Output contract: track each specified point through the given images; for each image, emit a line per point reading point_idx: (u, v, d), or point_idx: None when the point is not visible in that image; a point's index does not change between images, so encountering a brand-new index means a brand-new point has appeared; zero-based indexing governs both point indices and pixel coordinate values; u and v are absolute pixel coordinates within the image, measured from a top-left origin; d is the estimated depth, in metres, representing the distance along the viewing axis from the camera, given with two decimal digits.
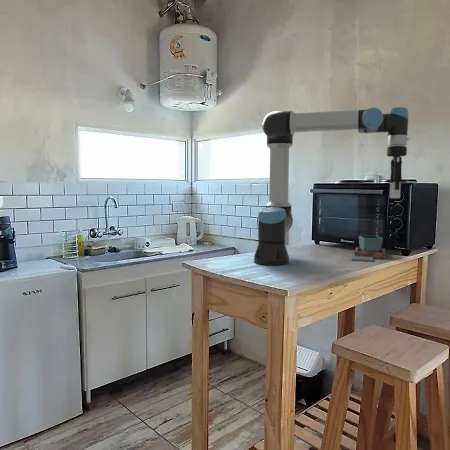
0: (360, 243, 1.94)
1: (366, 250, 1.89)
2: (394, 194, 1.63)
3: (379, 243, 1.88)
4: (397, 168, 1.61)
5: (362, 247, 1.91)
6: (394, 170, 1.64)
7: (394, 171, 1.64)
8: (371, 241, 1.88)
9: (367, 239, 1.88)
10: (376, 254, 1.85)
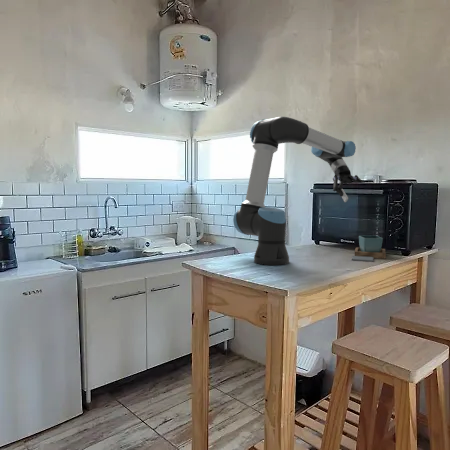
0: (360, 243, 1.94)
1: (366, 250, 1.89)
2: None
3: (379, 243, 1.88)
4: None
5: (362, 247, 1.91)
6: None
7: None
8: (371, 241, 1.88)
9: (367, 239, 1.88)
10: (376, 254, 1.85)
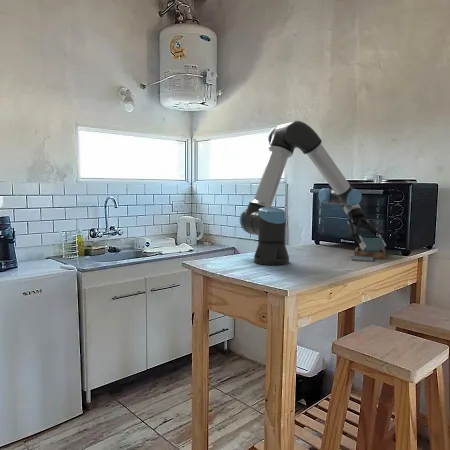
0: None
1: (366, 250, 1.89)
2: None
3: (379, 243, 1.88)
4: None
5: None
6: (372, 227, 1.97)
7: (373, 227, 1.97)
8: (371, 241, 1.88)
9: (367, 239, 1.87)
10: (376, 254, 1.85)
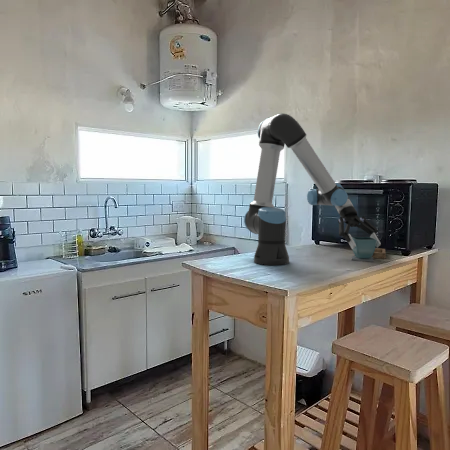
0: None
1: (359, 252, 1.79)
2: None
3: (372, 245, 1.78)
4: None
5: (355, 249, 1.81)
6: (365, 225, 1.88)
7: (366, 225, 1.88)
8: (364, 243, 1.78)
9: (360, 241, 1.78)
10: (376, 254, 1.85)
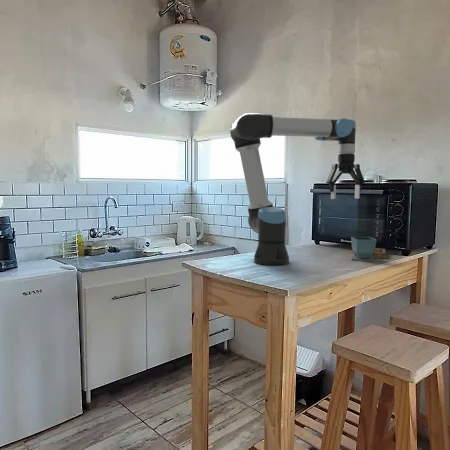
0: (352, 245, 1.84)
1: (359, 252, 1.79)
2: None
3: (372, 245, 1.78)
4: None
5: (355, 249, 1.81)
6: (356, 175, 1.94)
7: (356, 176, 1.94)
8: (364, 243, 1.78)
9: (360, 241, 1.78)
10: (376, 254, 1.85)
